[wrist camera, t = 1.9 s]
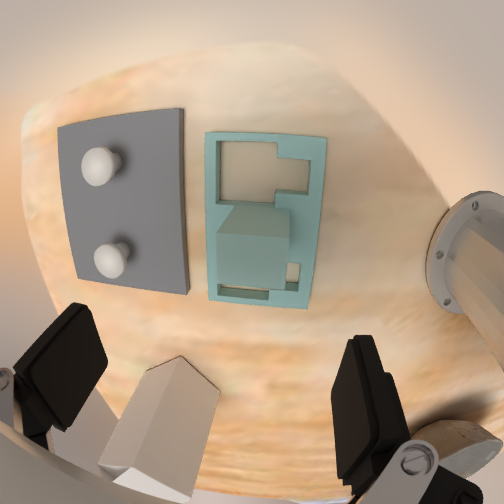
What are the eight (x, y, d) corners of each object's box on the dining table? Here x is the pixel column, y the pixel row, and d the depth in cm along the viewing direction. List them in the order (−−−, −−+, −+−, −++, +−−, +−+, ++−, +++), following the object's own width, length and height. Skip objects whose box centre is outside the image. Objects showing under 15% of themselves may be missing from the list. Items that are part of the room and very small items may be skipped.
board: (183, 108, 20) (163, 105, 16) (189, 289, 26) (176, 312, 23) (64, 126, 21) (37, 130, 18) (83, 274, 28) (63, 291, 24)
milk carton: (181, 354, 30) (116, 503, 13) (221, 390, 32) (182, 531, 15) (145, 370, 33) (83, 492, 15) (182, 402, 34) (139, 521, 17)
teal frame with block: (324, 137, 20) (342, 140, 13) (306, 300, 25) (310, 358, 19) (210, 132, 20) (173, 134, 14) (212, 292, 26) (188, 345, 19)
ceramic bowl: (496, 371, 27) (521, 418, 18) (473, 435, 34) (484, 471, 25) (364, 425, 33) (371, 483, 24) (375, 471, 40) (379, 511, 31)
